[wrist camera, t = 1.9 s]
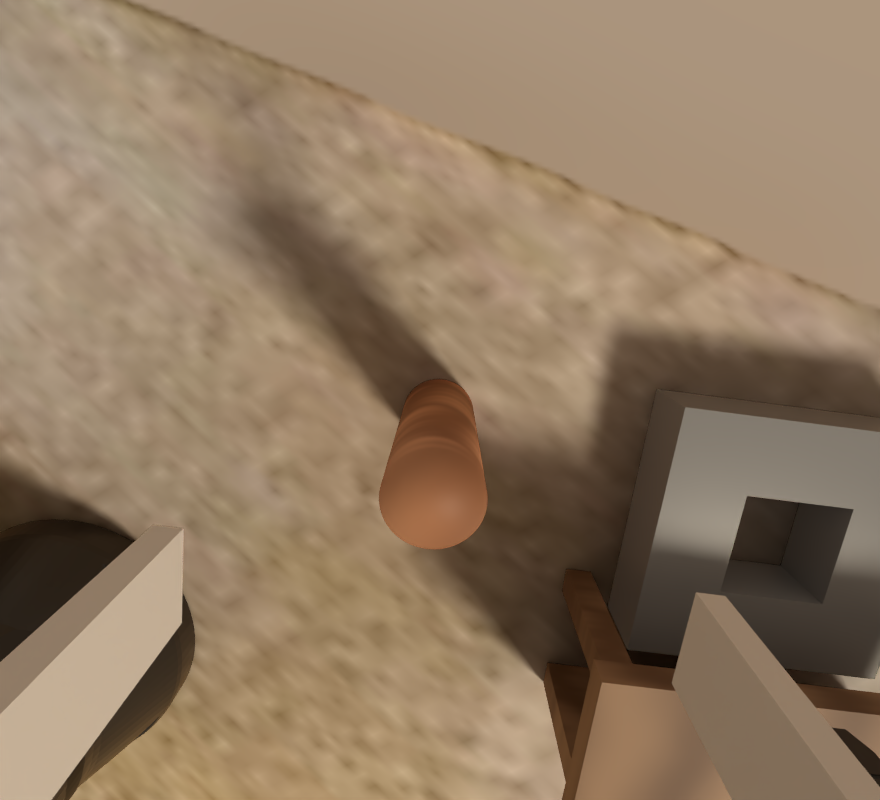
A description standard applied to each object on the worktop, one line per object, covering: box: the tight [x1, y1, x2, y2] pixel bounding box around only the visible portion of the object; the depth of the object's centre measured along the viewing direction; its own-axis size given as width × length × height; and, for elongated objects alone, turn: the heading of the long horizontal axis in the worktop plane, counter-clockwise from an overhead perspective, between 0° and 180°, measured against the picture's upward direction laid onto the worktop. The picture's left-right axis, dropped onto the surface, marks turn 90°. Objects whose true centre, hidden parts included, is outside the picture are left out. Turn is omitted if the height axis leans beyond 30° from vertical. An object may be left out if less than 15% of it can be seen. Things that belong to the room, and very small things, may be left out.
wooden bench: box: [544, 569, 880, 800], centre depth 31 cm, size 21×8×10 cm, turn 83°
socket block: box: [608, 389, 880, 679], centre depth 32 cm, size 14×14×4 cm
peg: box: [379, 379, 488, 549], centre depth 27 cm, size 4×4×12 cm
